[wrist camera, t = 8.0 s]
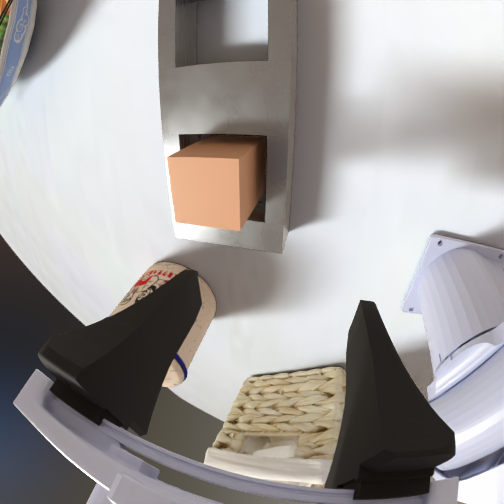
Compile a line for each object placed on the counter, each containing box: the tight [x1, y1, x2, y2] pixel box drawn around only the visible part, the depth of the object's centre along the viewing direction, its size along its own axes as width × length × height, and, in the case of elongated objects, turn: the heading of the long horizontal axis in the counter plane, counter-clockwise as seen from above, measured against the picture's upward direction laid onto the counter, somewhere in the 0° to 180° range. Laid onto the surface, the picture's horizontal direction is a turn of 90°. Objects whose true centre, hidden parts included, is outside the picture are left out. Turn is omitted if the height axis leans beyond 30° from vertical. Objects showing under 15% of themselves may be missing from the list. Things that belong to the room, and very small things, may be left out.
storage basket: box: [204, 367, 346, 488], centre depth 30 cm, size 24×16×15 cm
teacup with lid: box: [104, 262, 216, 387], centre depth 25 cm, size 12×9×12 cm
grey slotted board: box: [158, 0, 297, 254], centre depth 15 cm, size 20×8×3 cm, turn 0°
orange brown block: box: [167, 135, 266, 231], centre depth 16 cm, size 4×4×6 cm
